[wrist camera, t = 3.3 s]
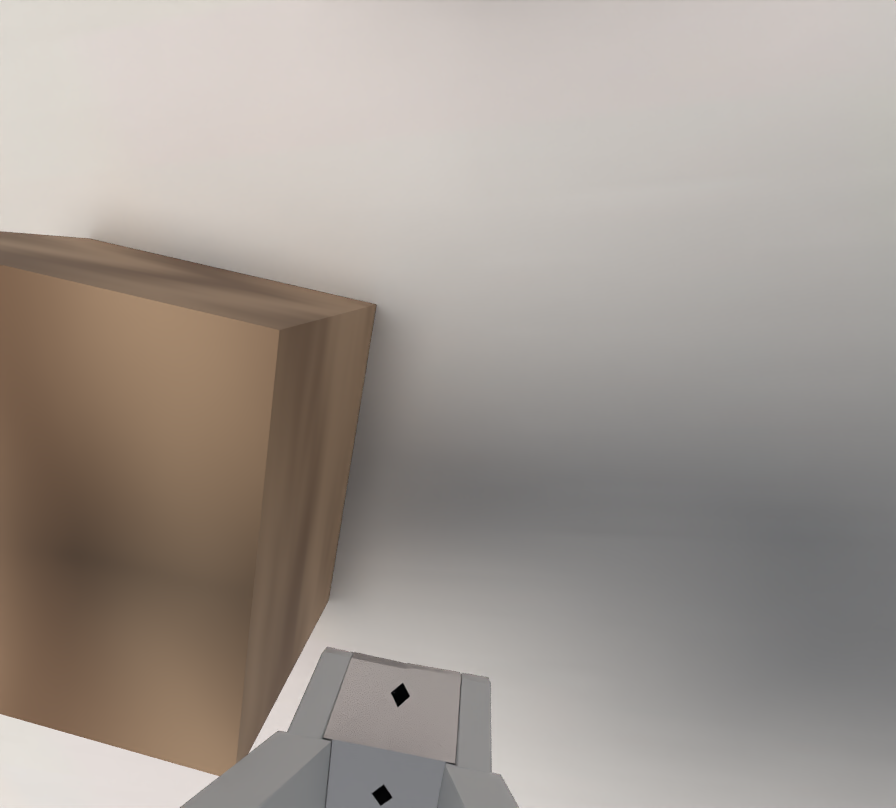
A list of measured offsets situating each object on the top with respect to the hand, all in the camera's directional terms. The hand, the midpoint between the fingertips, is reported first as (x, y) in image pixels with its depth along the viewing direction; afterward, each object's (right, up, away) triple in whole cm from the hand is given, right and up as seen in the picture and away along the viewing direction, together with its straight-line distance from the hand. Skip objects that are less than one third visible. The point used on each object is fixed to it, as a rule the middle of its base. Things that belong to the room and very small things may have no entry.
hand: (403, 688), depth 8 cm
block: (-8, +4, +9) cm, 12 cm away
